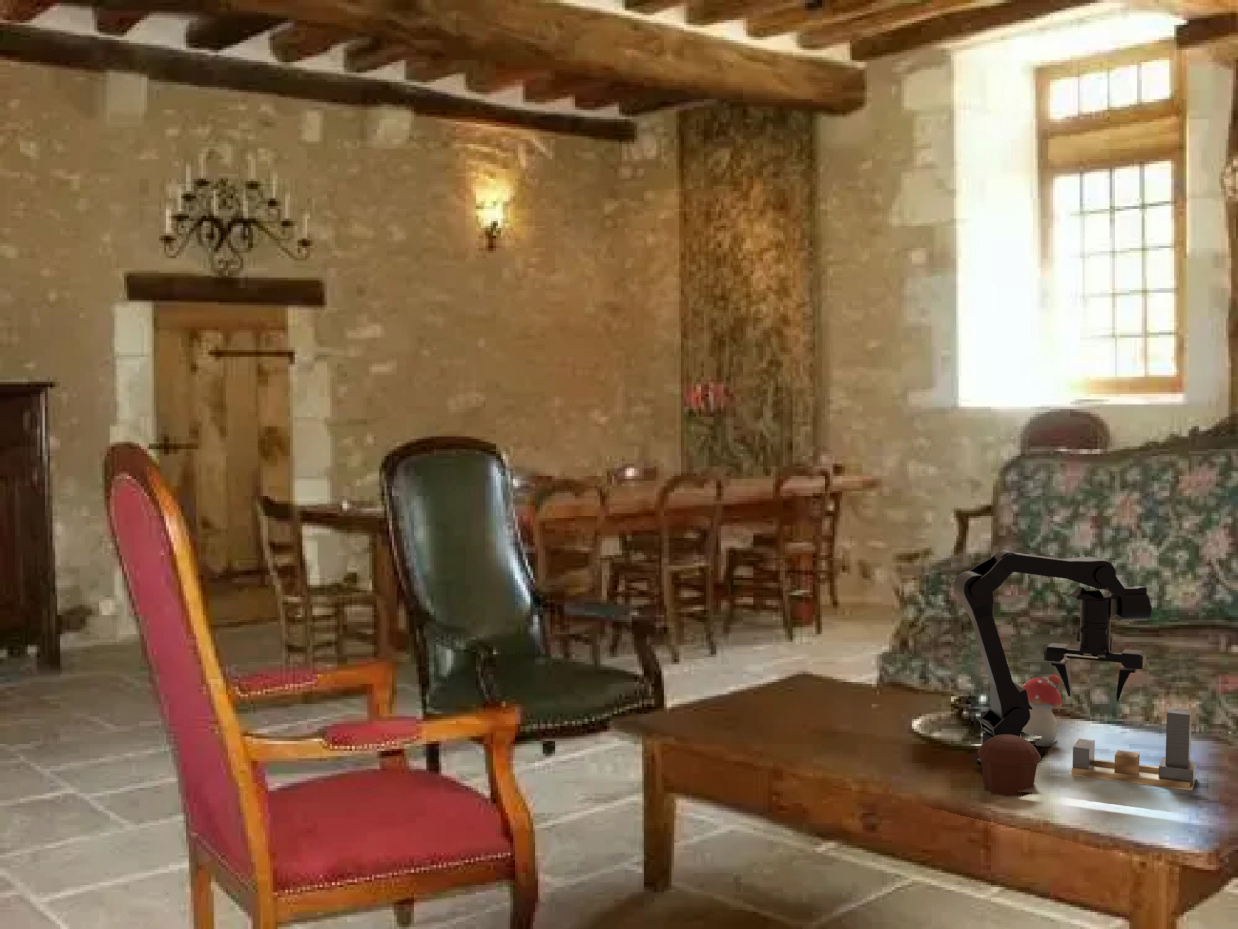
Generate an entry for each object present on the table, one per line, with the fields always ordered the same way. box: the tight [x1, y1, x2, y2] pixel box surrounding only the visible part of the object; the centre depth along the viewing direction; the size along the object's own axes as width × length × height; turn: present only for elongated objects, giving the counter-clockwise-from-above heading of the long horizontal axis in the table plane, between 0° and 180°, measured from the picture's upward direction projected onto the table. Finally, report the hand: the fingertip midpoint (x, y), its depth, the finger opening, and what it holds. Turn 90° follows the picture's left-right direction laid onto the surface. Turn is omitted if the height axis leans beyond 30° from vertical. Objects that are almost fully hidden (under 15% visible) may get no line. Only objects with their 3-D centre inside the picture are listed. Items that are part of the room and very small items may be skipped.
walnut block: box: [1114, 749, 1140, 776], centre depth 268 cm, size 4×4×4 cm
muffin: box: [977, 734, 1042, 797], centre depth 262 cm, size 12×11×10 cm
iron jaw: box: [1072, 738, 1096, 770], centre depth 271 cm, size 3×7×5 cm, turn 153°
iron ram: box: [1158, 707, 1197, 787], centre depth 263 cm, size 6×7×13 cm
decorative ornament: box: [1021, 674, 1063, 747], centre depth 294 cm, size 9×6×15 cm
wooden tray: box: [1068, 758, 1198, 791], centre depth 267 cm, size 22×10×2 cm, turn 63°
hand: (1093, 698), depth 279 cm, fingers open, 9 cm apart
